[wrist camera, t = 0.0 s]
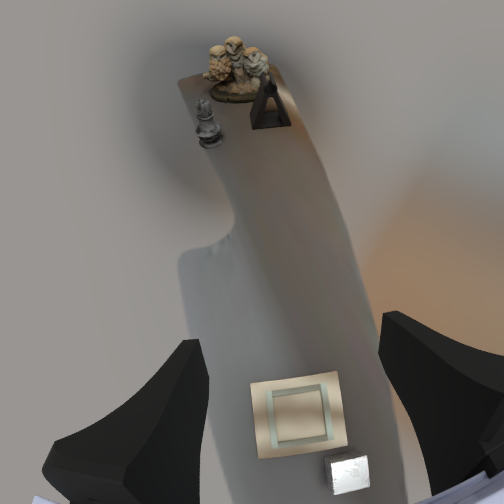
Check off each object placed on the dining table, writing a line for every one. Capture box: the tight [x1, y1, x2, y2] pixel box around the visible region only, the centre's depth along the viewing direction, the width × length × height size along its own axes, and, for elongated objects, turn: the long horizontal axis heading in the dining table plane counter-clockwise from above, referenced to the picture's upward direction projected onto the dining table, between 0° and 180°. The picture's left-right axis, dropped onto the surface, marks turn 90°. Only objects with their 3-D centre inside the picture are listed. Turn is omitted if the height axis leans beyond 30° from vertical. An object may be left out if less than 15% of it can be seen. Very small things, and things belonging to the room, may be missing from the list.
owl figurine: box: [203, 36, 270, 103], centre depth 68 cm, size 18×12×17 cm, turn 91°
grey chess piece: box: [195, 97, 223, 149], centre depth 60 cm, size 6×6×12 cm
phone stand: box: [250, 72, 291, 130], centre depth 62 cm, size 9×6×12 cm, turn 96°
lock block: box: [324, 450, 370, 495], centre depth 30 cm, size 4×4×6 cm
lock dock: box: [250, 371, 347, 459], centre depth 36 cm, size 11×12×2 cm
